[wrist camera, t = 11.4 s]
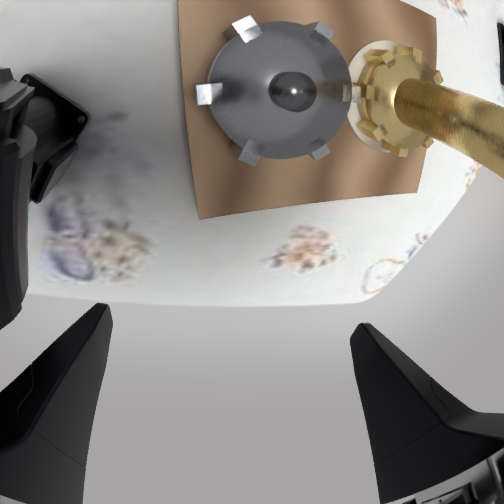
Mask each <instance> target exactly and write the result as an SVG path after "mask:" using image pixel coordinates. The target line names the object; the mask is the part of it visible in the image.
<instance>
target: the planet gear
mask: <svg viewBox="0 0 504 504" xmlns="http://www.w3.org/2000/svg"><path fill="white" fill-rule="evenodd" d="M363 57H364V58H365V60H366V61H367V63H366V65H365V66H364V67H363V69H362V71H361V73H360V75H359V78H358V82H357V83H355V82H352V85H355V86H360V87H361V99H360V103H357V108H358V111H359V114H360V117H361V120H360V121H359V122H358V123H357V124H356V126H357V127H358V129H359V131H360V132H361V134H363V135H365V136H367V137H369V138H371V139H373V140H375V141H377V142H379V141H380V140H381V139H382V140H383V144H382V148H384V149H386V150H388V151H390V152H391V153H393V154H395V155H397V156H399V157H407V155H408V150H409V149H414V148H417V147H419V146H423V147H425V148H427V149H428V148H429V147H430V146H431V145H432V144H433V139H432V138H434V139H436V140H438V141H440V142H442V143H444V144H446V145H448V146H450V147H452V148H454V149H456V150H457V151H459V152H461V153H463V154H465V155H466V156H468V157H470V158H472V159H473V160H475V161H477V162H478V163H480V164H482V165H483V166H485V167H487V168H488V169H490V170H491V171H493V172H495V173H496V174H497V175H499V176H500V177H502V178H504V108H503V107H501V106H499V105H496V104H494V103H492V102H489V101H486V100H484V99H481V98H479V97H476V96H473V95H470V94H467V93H464V92H461V91H458V90H455V89H452V88H448V87H445V86H441V85H440V84H441V83H442V82H443V78H442V76H441V73H440V71H438V70H433V69H431V67H430V66H429V65H428V64H427V63H426V62H425V61H423V60H422V51H420V50H418V49H416V48H414V47H404V46H394V53H391V52H390V50H382V49H370V50H369V51H367V52H366V53H365V54H363Z"/></svg>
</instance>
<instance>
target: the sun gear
mask: <svg viewBox="0 0 504 504" xmlns="http://www.w3.org/2000/svg"><path fill="white" fill-rule="evenodd" d="M223 34H224V36H225V37H226V38H227V40H228V42H226V43H225V44H224V45H223V46H222V47H221V48H220V49H219V50H218V51H217V52H216V54H215V55H214V57H213V58H212V60H211V62H210V64H209V66H208V69H207V73H206V77H205V83H196V84H194V97H195V101H196V103H197V105H205V104H208V107H209V109H210V112H211V114H212V115H213V117H214V118H215V120H216V121H217V123H218V124H219V125H220V126H221V128H222V129H223V130H224V132H225V133H226V134H227V135H228V136H229V137H230V138H231V141H230V143H229V146H230V148H231V149H232V151H233V152H234V154H235V156H236V157H237V159H238V160H241V161H243V162H245V163H248V164H250V165H252V166H255V165H256V164H257V162H258V160H259V158H260V156H262V157H266V158H272V159H291V158H297V157H301V156H304V155H308V156H310V157H311V158H312V159H314V160H315V161H318V160H319V159H321V158H322V157H324V156H326V155H327V154H329V153H330V151H329V149H328V147H327V145H326V143H327V142H329V141H330V140H331V139H332V138H333V137H334V136H335V134H336V133H337V132H338V131H339V129H340V128H341V126H342V125H343V123H344V121H345V119H346V117H347V115H348V112H349V109H350V105H351V102H354V103H360V99H361V87H360V86H355V85H352V82H351V76H350V72H349V69H348V66H347V64H346V61H345V60H344V58H343V56H342V54H341V53H340V51H339V50H338V49H337V47H336V46H335V45H334V44H333V43H332V42H331V41H330V38H331V37H332V35H333V34H334V31H333V30H332V29H330V28H329V27H327V26H326V25H324V24H323V23H322V22H320V21H318V22H314V23H310V24H307V25H302V24H298V23H294V22H287V21H274V22H266V23H262V24H258V25H257V24H256V22H255V21H254V20H253V18H252V17H251V15H249V16H247V17H245V18H243V19H241V20H239V21H237V22H235V23H233V24H231V25H230V26H229V27H228V28H227V29H226V30H225V31H224V32H223Z"/></svg>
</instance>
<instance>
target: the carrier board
mask: <svg viewBox="0 0 504 504" xmlns="http://www.w3.org/2000/svg"><path fill="white" fill-rule="evenodd" d="M249 15H251V17H252V18H253V20H254V21H255V22H256V24H257V25H258V24H262V23H266V22H274V21H287V22H294V23H298V24H302V25H307V24H310V23H314V22H318V21H320V22H322V23H323V24H324V25H326V26H327V27H329V28H330V29H332V30H333V31H334V34H333V35H332V37H331V38H330V41H331V42H332V43H333V44H334V45H335V46H336V47H337V49H338V50H339V51H340V53H341V54H342V56H343V58H344V60H345V61H346V64H347V66H348V69H349V72H350V76H351V82H355V83H357V82H358V78H359V75H360V73H361V71H362V69H363V67H364V66H365V65H366V63H367V61H366V60H365V58H364V57H363V54H365V53H366V52H367V51H369V50H370V49H382V50H390V52H391V53H394V46H404V47H414V48H416V49H418V50H420V51H422V60H423V61H425V62H426V63H427V64H428V65H429V66H430V67H431V69H433V70H436V56H437V31H436V18H435V17H433V16H431V15H429V14H427V13H426V12H424V11H422V10H419V9H417V8H415V7H413V6H411V5H409V4H407V3H404V2H402V1H400V0H178V17H179V38H180V55H181V69H182V82H183V94H184V104H185V115H186V124H187V133H188V142H189V151H190V159H191V167H192V174H193V182H194V189H195V196H196V203H197V210H198V216H199V220H200V219H206V218H212V217H218V216H225V215H231V214H237V213H244V212H251V211H257V210H264V209H271V208H279V207H286V206H294V205H301V204H309V203H317V202H326V201H334V200H343V199H353V198H362V197H372V196H383V195H394V194H406V193H417V190H418V186H419V182H420V178H421V173H422V169H423V164H424V159H425V154H426V149H427V148H425V147H423V146H419V147H417V148H414V149H409V150H408V155H407V157H399V156H397V155H395V154H393V153H391V152H390V151H388V150H386V149H384V148H382V144H383V140H382V139H381V140H380V141H379V142H377V141H375V140H373V139H371V138H369V137H367V136H365V135H363V134H361V132H360V131H359V129H358V127H357V126H356V124H357V123H358V122H359V121H360V120H361V117H360V114H359V111H358V108H357V103H354V102H351V105H350V109H349V112H348V115H347V117H346V119H345V121H344V123H343V125H342V126H341V128H340V129H339V131H338V132H337V133H336V134H335V136H334V137H333V138H332V139H331V140H330V141H329V142H327V143H326V145H327V147H328V149H329V151H330V153H329V154H327V155H326V156H324V157H322V158H321V159H319V160H318V161H315V160H314V159H312V158H311V157H310V156H308V155H304V156H301V157H297V158H291V159H272V158H266V157H262V156H260V158H259V160H258V162H257V164H256V165H255V166H252V165H250V164H248V163H245V162H243V161H241V160H238V159H237V157H236V156H235V154H234V152H233V151H232V149H231V148H230V146H229V143H230V141H231V138H230V137H229V136H228V135H227V134H226V133H225V132H224V130H223V129H222V128H221V126H220V125H219V124H218V123H217V121H216V120H215V118H214V117H213V115H212V114H211V112H210V109H209V107H208V104H205V105H197V103H196V101H195V97H194V84H196V83H205V77H206V73H207V69H208V66H209V64H210V62H211V60H212V58H213V57H214V55H215V54H216V52H217V51H218V50H219V49H220V48H221V47H222V46H223V45H224V44H225V43H226V42H228V40H227V38H226V37H225V36H224V34H223V32H224V31H225V30H226V29H227V28H228V27H229V26H230V25H231V24H233V23H235V22H237V21H239V20H241V19H243V18H245V17H247V16H249Z"/></svg>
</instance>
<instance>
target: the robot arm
mask: <svg viewBox="0 0 504 504" xmlns="http://www.w3.org/2000/svg"><path fill="white" fill-rule="evenodd" d="M27 78H29V82H28V84H26V80H27ZM80 116H84V118H85V120H84V122H81V121H80ZM89 120H90V115H89V113H88V112H87V111H85V110H84V109H82V108H81V107H79V106H78V105H77V104H75V103H74V102H72V101H71V100H69V99H68V98H67V97H65V96H64V95H62V94H61V93H59V92H58V91H56V90H55V89H54V88H52V87H51V86H49V85H48V84H46V83H45V82H43V81H42V80H40V79H39V78H37V77H36V76H34V75H33V74H26V75H24V76H23V77H22V79H21V81H20V82H16V80H14V78H13V76H12V73H11V70H10V68H2V67H1V68H0V330H1V329H2V328H4V327H5V326H6V325H7V324H9V323H10V322H11V321H13V320H14V318H15V317H16V316H17V315H18V313H19V312H20V311H21V309H22V305H21V303H22V301H23V299H24V296H25V293H26V290H27V287H28V248H27V232H28V207H29V203H30V202H31V201H33V202H34V203H36V204H37V203H40V202H41V201H42V200H43V199H44V198H45V196H46V195H47V194H48V193H49V192H50V190H51V189H52V188H53V187H54V186H55V185H56V183H57V182H58V181H59V180H60V179H61V178H62V176H63V175H64V173H65V171H66V169H67V167H68V165H69V164H70V162H71V160H72V158H73V156H74V155H75V153H76V151H77V150H78V144H77V143H76V141H77V140H78V138H79V137H80V135H81V133H82V132H83V130H84V129H85V127H86V126H87V124H88V122H89ZM112 327H113V320H112V316H111V311H110V307H109V305H108V304H104V303H97V304H95V305H94V306H93V307H92V308H91V309H90V310H88V311H87V312H86V313H85V314H84V315H83V316H82V317H81V318H79V319H78V320H77V321H76V322H75V323H74V324H73V325H72V326H70V328H68V329H67V330H66V331H65V332H64V333H63V334H62V335H61V336H60V337H59V338H57V339H56V340H55V341H54V342H53V343H52V344H51V345H50V346H49V347H48V348H47V349H46V350H45V351H44V352H43V353H42V354H41V355H40V356H38V358H37V359H35V360H34V361H33V362H32V364H30V365H29V366H28V367H27V368H26V369H25V370H24V371H23V372H22V373H21V374H20V375H19V376H18V377H17V378H16V379H15V380H14V381H13V382H11V383H10V384H9V385H8V386H7V387H6V388H5V389H3V390H2V391H1V392H0V504H82V503H83V490H84V479H85V471H86V468H85V467H86V461H87V454H88V448H89V442H90V436H91V431H92V425H93V420H94V415H95V410H96V405H97V401H98V396H99V392H100V388H101V384H102V380H103V376H104V372H105V368H106V362H107V357H108V350H109V344H110V338H111V333H112ZM350 346H351V352H352V358H353V365H354V372H355V377H356V381H357V386H358V390H359V394H360V398H361V402H362V407H363V411H364V416H365V420H366V424H367V430H368V435H369V439H370V445H371V450H372V455H373V461H374V467H375V473H376V479H377V485H378V492H379V499H380V504H385V503H389V502H392V501H395V500H398V499H401V498H404V497H407V496H410V495H413V494H414V496H415V497H414V498H412V499H411V500H408V501H406V502H404V503H402V504H504V414H501V413H481V412H477V411H474V410H472V409H470V408H469V407H467V406H466V405H465V404H464V403H462V402H461V401H460V400H458V399H457V398H456V397H454V396H453V395H452V394H451V393H449V392H448V391H447V390H446V389H444V388H443V387H442V386H441V385H440V384H438V383H437V382H436V381H435V380H434V379H433V378H432V377H430V375H428V374H427V373H426V372H425V371H424V370H423V369H422V368H421V367H419V366H418V365H417V364H416V363H415V362H414V361H413V360H412V359H410V358H409V357H408V356H407V355H406V354H405V353H404V352H402V351H401V350H400V349H399V348H398V347H397V346H395V345H394V344H393V343H392V342H391V341H390V340H389V339H387V338H386V337H385V336H384V335H383V334H382V333H381V332H379V331H378V330H377V329H376V328H375V327H373V326H372V325H371V324H370V323H360V324H359V325H358V326H357V327H356V329H355V331H354V333H353V334H352V336H351V338H350Z"/></svg>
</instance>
